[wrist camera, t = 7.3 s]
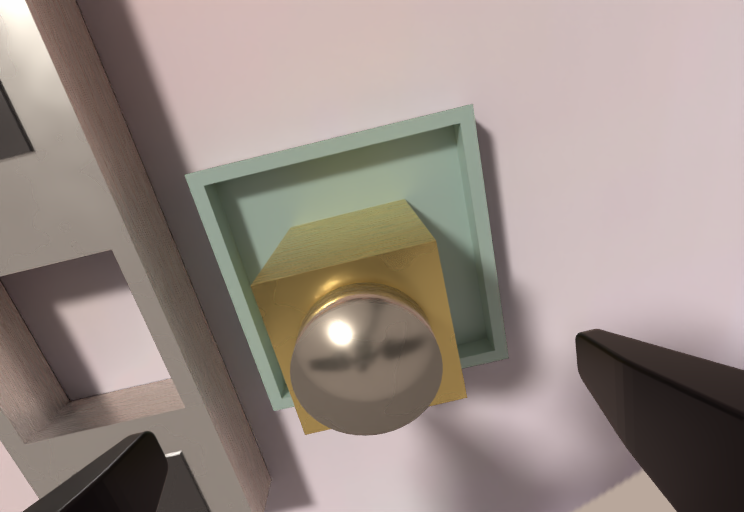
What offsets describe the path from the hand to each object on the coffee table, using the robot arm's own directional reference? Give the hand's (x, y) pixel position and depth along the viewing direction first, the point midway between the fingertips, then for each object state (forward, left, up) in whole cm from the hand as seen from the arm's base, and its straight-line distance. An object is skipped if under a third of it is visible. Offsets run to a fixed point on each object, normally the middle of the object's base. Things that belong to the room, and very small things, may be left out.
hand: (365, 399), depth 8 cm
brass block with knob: (0, 0, -8) cm, 8 cm away
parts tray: (0, 0, -8) cm, 8 cm away
